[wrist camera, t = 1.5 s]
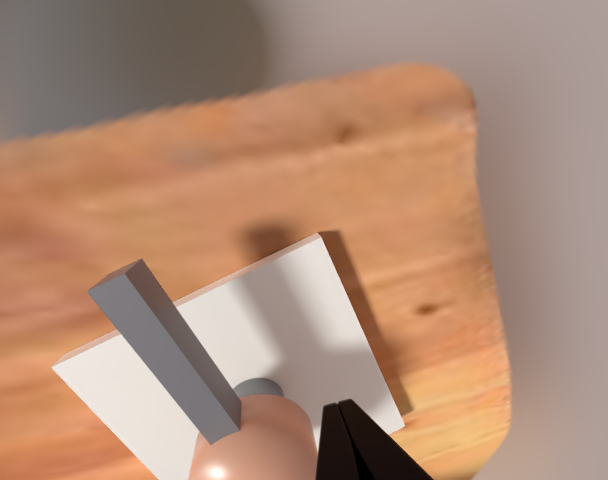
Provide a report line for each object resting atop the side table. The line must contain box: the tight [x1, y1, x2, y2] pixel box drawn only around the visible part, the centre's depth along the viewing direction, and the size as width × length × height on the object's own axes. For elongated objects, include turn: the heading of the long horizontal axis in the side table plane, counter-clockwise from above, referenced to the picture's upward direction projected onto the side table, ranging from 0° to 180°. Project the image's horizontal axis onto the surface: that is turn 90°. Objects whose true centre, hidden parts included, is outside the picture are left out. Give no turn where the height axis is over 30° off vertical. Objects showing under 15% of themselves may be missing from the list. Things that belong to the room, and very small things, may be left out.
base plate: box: [51, 233, 405, 480], centre depth 19 cm, size 18×18×4 cm
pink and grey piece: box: [87, 259, 318, 480], centre depth 14 cm, size 16×7×3 cm, turn 24°
